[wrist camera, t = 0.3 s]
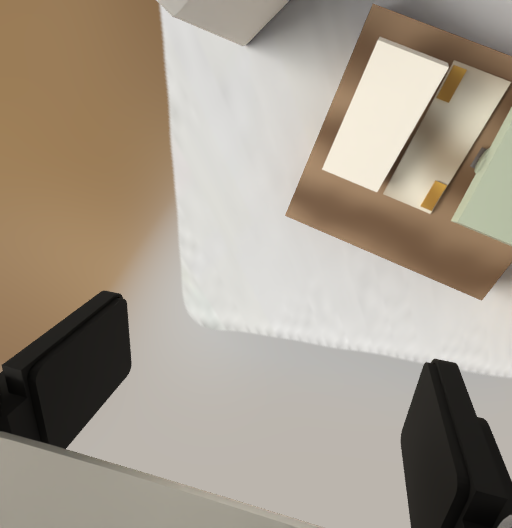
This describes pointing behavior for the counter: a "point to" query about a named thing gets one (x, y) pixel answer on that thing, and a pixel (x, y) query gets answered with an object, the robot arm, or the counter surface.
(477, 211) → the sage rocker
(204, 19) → the milk carton
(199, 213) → the counter surface
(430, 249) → the switch unit
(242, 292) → the counter surface
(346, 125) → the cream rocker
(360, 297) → the counter surface
